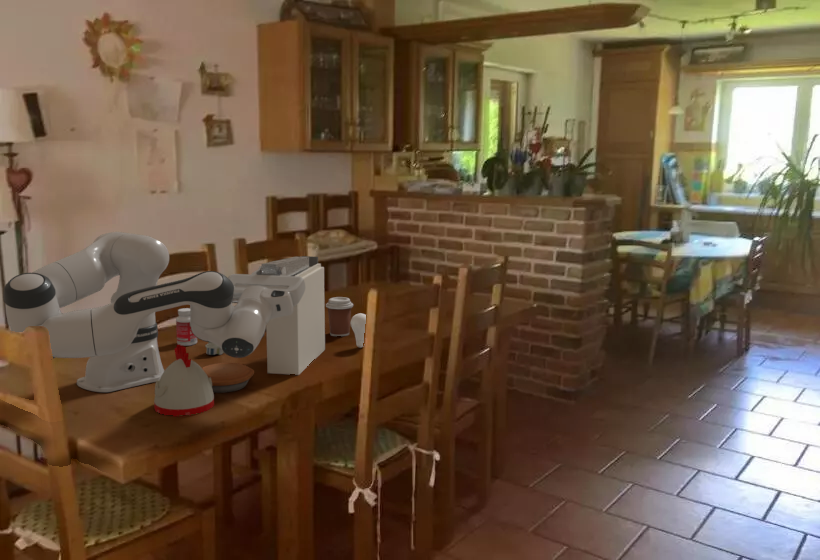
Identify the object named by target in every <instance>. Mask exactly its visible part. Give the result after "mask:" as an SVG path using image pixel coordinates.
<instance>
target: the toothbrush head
mask: <svg viewBox="0 0 820 560" xmlns="http://www.w3.org/2000/svg"><path fill="white" fill-rule="evenodd" d="M263 337H265V334H264V335H263ZM205 348H206V353H205V354H207V355H210V356H215V355H219V356H220V355H223V354H225V353H224V352H223V351H222V350H221V348H220V347H219V346H217V345H216V344H214V343H211V342H207V344H205Z"/></svg>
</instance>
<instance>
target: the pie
mask: <svg viewBox="0 0 820 560" xmlns="http://www.w3.org/2000/svg"><path fill="white" fill-rule="evenodd" d="M201 368H202V369H203V370H204V372H205V373H206V374H207V376H208V378H210V377H211V381H212V389H213V393H216V394H219V393H220V394H221V393H231V392H236V391H240V390H242V389H243V388H245V387H246V386H247V385H248V383H249V381H250V379H252V377H253V375H254V373H255V370H254V369H252V368H251V367H249V366H247V365H245V364H244V363H243V364H242V363H239V362H238V363H237V362H220V363H219V362H218V363H212V364H208V365H206V366H203V367H201Z"/></svg>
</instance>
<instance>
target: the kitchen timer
mask: <svg viewBox="0 0 820 560" xmlns="http://www.w3.org/2000/svg"><path fill="white" fill-rule="evenodd" d="M174 355H175V360H174V361H173V362H172V363H170V364H169V365H168V366H166V368H165V369H164V373H163V374H162V376H161V378H160V380H159V381H158V380H156V382H155V383H154V384H155V385H154V398H153V399H154V401H153V403H154V407H153V409H154V410H155V413H157V412H158V414H159V413H160V415H162V414H164V415H163V416H166V415H173V416H172V417H180V416H179V415H189V416H192V415H191V414H195V415H197V414H196V413H199V414H202V413H205V412H207V411H210V410H211V409H212V408H213V407H214V406H215V394H214V392H213V389H212V381H211V377H210V378H208V376H207V374H206V373H205V372H204V370H203V369H202V368H203V367H201V366H200V365H199V364H198V363H197V362H196V361H194V360H193V359H191V358H189V355H190V354H189V352H187V347H186V346H182V345H180V344H179V345H178V344H176V347H175V348H174ZM210 408H211V409H210ZM204 411H205V412H204ZM201 412H202V413H201ZM177 415H178V416H177Z"/></svg>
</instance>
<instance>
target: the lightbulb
mask: <svg viewBox="0 0 820 560" xmlns="http://www.w3.org/2000/svg"><path fill="white" fill-rule="evenodd" d="M366 315H367V314H365V313H361V312H360V313H359V312H358V313H357V314H355V315H353V316H352V317H351V318H350V327H351V329H352V331H353V334H354V337H355V338H354V339H355V343H356V344H355V345H356V346H357V347H358V348H360V349H361V348H363V347H364V346H363V343H364V333H365V324H366Z"/></svg>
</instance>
